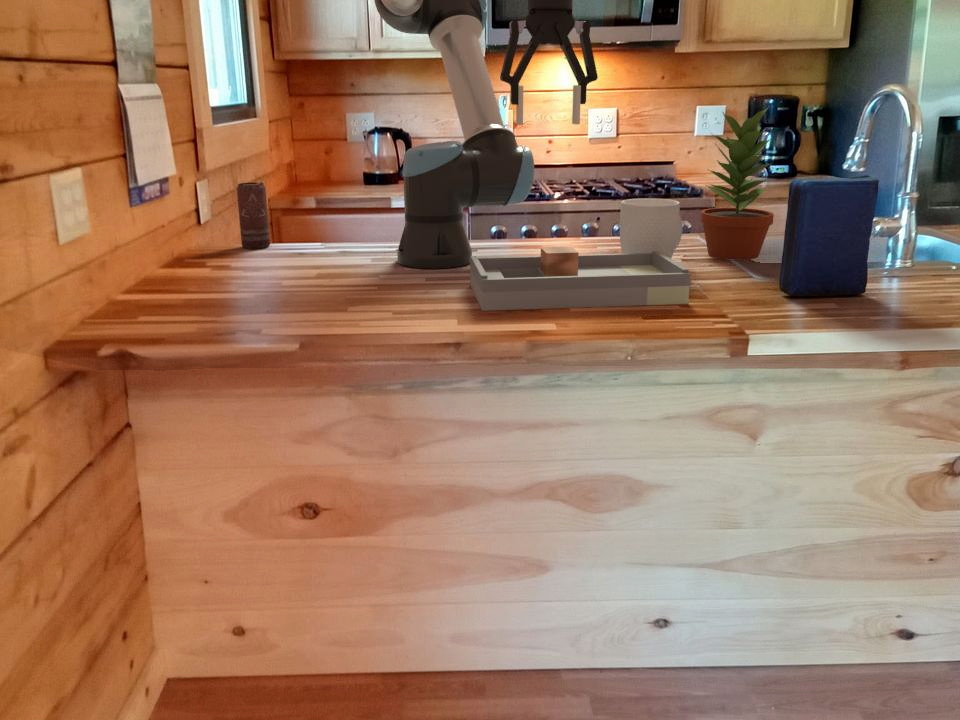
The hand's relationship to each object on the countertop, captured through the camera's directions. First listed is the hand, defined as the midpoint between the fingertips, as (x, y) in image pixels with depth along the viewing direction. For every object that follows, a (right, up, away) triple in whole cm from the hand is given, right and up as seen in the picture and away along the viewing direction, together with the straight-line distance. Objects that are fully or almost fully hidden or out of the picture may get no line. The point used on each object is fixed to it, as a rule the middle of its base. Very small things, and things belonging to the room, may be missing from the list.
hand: (547, 124), depth 150 cm
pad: (+18, -30, -2) cm, 35 cm away
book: (+46, -31, -6) cm, 56 cm away
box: (+3, -30, -4) cm, 31 cm away
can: (-62, -16, +40) cm, 75 cm away
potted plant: (+41, -20, +28) cm, 53 cm away
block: (+2, -26, -1) cm, 26 cm away
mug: (+21, -24, +16) cm, 36 cm away
